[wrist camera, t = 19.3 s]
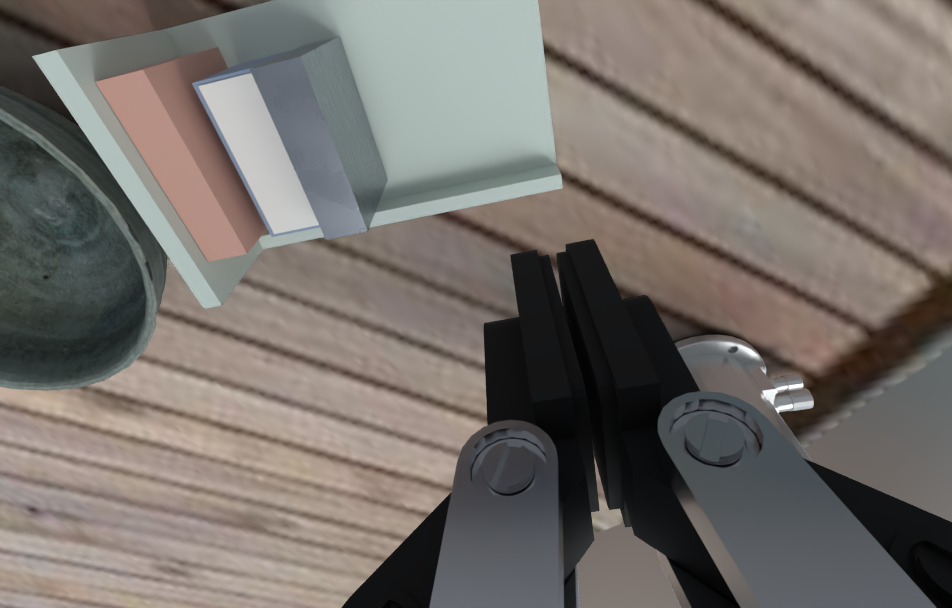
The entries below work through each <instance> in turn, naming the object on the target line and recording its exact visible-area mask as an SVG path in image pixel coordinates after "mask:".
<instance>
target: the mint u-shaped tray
mask: <svg viewBox="0 0 952 608" xmlns="http://www.w3.org/2000/svg"><path fill="white" fill-rule="evenodd" d="M336 37H340V38H341V41H342V44H343V47H344V50H345V53H346V56H347V59H348V62H349V65H350V68H351V71H352V74H353V77H354V80H355V83H356V86H357V89H358V92H359V95H360V98H361V101H362V104H363V107H364V110H365V113H366V116H367V119H368V122H369V125H370V128H371V131H372V134H373V137H374V140H375V143H376V146H377V149H378V152H379V155H380V158H381V161H382V164H383V167H384V170H385V173H386V176H387V179H388V181H387V183H386V186H385V188H384V191H383V194H382V196H381V199H380V201H379V204H378V206H377V209H376V212H375V214H374V217H373V219H372V222H371V224H370V227H375V226H380V225H385V224H390V223H395V222H400V221H405V220H409V219H414V218H419V217H424V216H429V215H434V214H439V213H444V212H449V211H454V210H459V209H464V208H468V207H473V206H478V205H483V204H488V203H493V202H498V201H503V200H508V199H513V198H518V197H523V196H527V195H532V194H537V193H542V192H547V191H552V190H557V189H562V188H563V187H562V178H561V173H560V171H559V168H558V166H557V164H556V155H555V146H554V137H553V129H552V120H551V111H550V102H549V93H548V85H547V76H546V67H545V58H544V49H543V40H542V32H541V23H540V14H539V5H538V0H272V1H268V2H265V3H261V4H257V5H253V6H250V7H246V8H242V9H238V10H235V11H231V12H227V13H223V14H220V15H216V16H212V17H208V18H205V19H201V20H197V21H193V22H190V23H186V24H182V25H178V26H175V27H171V28H167V29H163V30H157V31H152V32H147V33H142V34H136V35H131V36H126V37H121V38H116V39H110V40H105V41H100V42H95V43H90V44H84V45H79V46H74V47H69V48H64V49H58V50H54V51H50V52H47V53H43V54H39V55H35V56H32V57H33V59H34V60H35V61H36V63H37V64H38V66H39V67H40V69H41V70H42V72H43V73H44V75H45V76H46V78H47V79H48V81H49V82H50V84H51V85H52V86H53V88H54V89H55V91H56V92H57V94H58V95H59V97H60V98H61V100H62V101H63V103H64V104H65V106H66V107H67V108H68V110H69V111H70V113H71V114H72V116H73V117H74V119H75V120H76V122H77V123H78V125H79V126H80V128H81V129H82V131H83V132H84V133H85V135H86V136H87V138H88V139H89V141H90V142H91V144H92V145H93V147H94V148H95V150H96V151H97V153H98V154H99V155H100V157H101V158H102V160H103V161H104V163H105V164H106V166H107V167H108V169H109V170H110V172H111V173H112V175H113V176H114V178H115V179H116V180H117V182H118V183H119V185H120V186H121V188H122V189H123V191H124V192H125V194H126V195H127V197H128V198H129V200H130V201H131V202H132V204H133V205H134V207H135V208H136V210H137V211H138V213H139V214H140V216H141V217H142V219H143V220H144V222H145V223H146V225H147V226H148V227H149V229H150V230H151V232H152V233H153V235H154V236H155V238H156V239H157V241H158V242H159V244H160V245H161V247H162V248H163V249H164V251H165V252H166V254H167V255H168V257H169V258H170V260H171V261H172V263H173V264H174V266H175V267H176V269H177V270H178V272H179V273H180V274H181V276H182V277H183V279H184V280H185V282H186V283H187V285H188V286H189V288H190V289H191V291H192V292H193V294H194V295H195V296H196V298H197V299H198V301H199V302H200V304H201V305H202V307H203V308H204V309H205V308H210V307H215V306H221V305H222V304H223V303H224V302H225V300H226V299H227V298H228V296H229V295H230V294H231V292H232V291H233V290H234V288H235V287H236V286H237V284H238V283H239V281H240V280H241V279H242V277H243V276H244V275H245V273H246V272H247V271H248V269H249V268H250V267H251V265H252V264H253V262H254V261H255V260H256V258H257V257H258V256H259V254H260V253H261V252H262V250H263V249H267V248H272V247H277V246H282V245H287V244H291V243H296V242H301V241H306V240H311V239H316V238H321V237H324V235H323V232H322V230H321V228H320V227H319V228H314V229H309V230H305V231H300V232H295V233H290V234H285V235H280V236H275V237H271V235H270V233H269V231H268V229H267V227H266V225H265V223H264V221H263V220H262V218H261V216H260V214H259V212H258V210H257V208H256V206H255V204H254V202H253V200H252V198H251V196H250V195H249V193H248V191H247V189H246V187H245V185H244V183H243V181H242V179H241V177H240V175H239V173H238V171H237V169H236V168H235V166H234V164H233V162H232V160H231V158H230V156H229V154H228V152H227V150H226V148H225V146H224V144H223V143H222V141H221V139H220V137H219V135H218V133H217V131H216V129H215V127H214V125H213V123H212V121H211V119H210V118H209V116H208V114H207V112H206V110H205V108H204V106H203V104H202V102H201V100H200V98H199V96H198V94H197V92H196V91H195V89H194V87H193V85H192V83H193V82H195V81H198V80H200V79H203V78H205V77H208V76H210V75H213V74H215V73H218V72H220V71H223V70H225V69H227V68H230V67H232V66H235V65H237V64H241V63H245V62H249V61H252V60H256V59H260V58H264V57H268V56H272V55H276V54H280V53H284V52H288V51H291V50H294V49H296V48H298V47H300V46H304V45H308V44H312V43H316V42H320V41H324V40H328V39H332V38H336ZM370 227H369V228H370Z"/></svg>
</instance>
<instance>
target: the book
mask: <svg viewBox="0 0 952 608" xmlns="http://www.w3.org/2000/svg"><path fill="white" fill-rule="evenodd" d="M288 52H289V51H288ZM285 53H287V52H284V53H280V54H276V55H272V56H268V57H264V58H260V59H256V60H252V61H249V62H245V63H241V64H237V65H235V66H232V67H230V68H227V69H225V70H223V71H220V72H218V73H215V74H213V75H210V76H208V77H205V78H203V79H200V80H198V81H195V82H193V83H192V85H193V87H194V89H195V91H196V92H197V94H198V96H199V98H200V100H201V102H202V104H203V106H204V108H205V110H206V112H207V114H208V116H209V118H210V119H211V121H212V123H213V125H214V127H215V129H216V131H217V133H218V135H219V137H220V139H221V141H222V143H223V144H224V146H225V148H226V150H227V152H228V154H229V156H230V158H231V160H232V162H233V164H234V166H235V168H236V169H237V171H238V173H239V175H240V177H241V179H242V181H243V183H244V185H245V187H246V189H247V191H248V193H249V195H250V196H251V198H252V200H253V202H254V204H255V206H256V208H257V210H258V212H259V214H260V216H261V218H262V220H263V221H264V223H265V225H266V227H267V229H268V231H269V233H270V235H271V237H275V236H280V235H285V234H290V233H295V232H300V231H305V230H309V229H314V228H319V227H320V226H319V223H318V221H317V219H316V217H315V214H314V212H313V210H312V208H311V205H310V203H309V201H308V199H307V196H306V194H305V192H304V190H303V187H302V185H301V183H300V181H299V179H298V176H297V174H296V172H295V170H294V167H293V165H292V163H291V161H290V158H289V156H288V154H287V152H286V149H285V147H284V145H283V143H282V140H281V138H280V136H279V134H278V131H277V129H276V127H275V125H274V122H273V120H272V118H271V116H270V114H269V111H268V109H267V107H266V105H265V102H264V100H263V98H262V96H261V93H260V91H259V89H258V87H257V84H256V82H255V80H254V78H253V75H252V73H251V71H250V69H251V68H254V67H256V66H258V65H260V64H263V63H265V62H267V61H269V60H271V59H274V58H276V57H278V56H280V55H283V54H285Z"/></svg>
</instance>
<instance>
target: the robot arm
mask: <svg viewBox="0 0 952 608" xmlns="http://www.w3.org/2000/svg"><path fill="white" fill-rule="evenodd" d="M510 256H511V263H512V270H513V277H514V284H515V291H516V298H517V305H518V312H519V317H517V318H511V319H505V320H499V321H494V322H488V323H484V348H485V373H486V397H487V422H488V426H485V427H483V428H481V429H480V430H479V431H477V432H476V433H475V434H474V435H472V436H471V437H470V438H469V440H468V441H467V442H466V444H465V445H464V446H463V447H462V450H461V452H460V455H459V458H458V461H457V466H456V471H455V476H454V481H453V487H452V492H451V493H450V494H449V495H448V496H447V497H446V498H445V499H444V500H443V501H442V502H441V503H440V504H439V506H438V507H437V508H436V509H435V510H434V511H433V512H432V513H431V514H430V515H429V516H428V517H427V518H426V519H425V520H424V521H423V522H422V523H421V524H420V525H419V526H418V527H417V528H416V529H415V530H414V531H413V532H412V533H411V535H410V536H409V537H408V538H407V539H406V540H405V541H404V542H403V543H402V544H401V545H400V546H399V547H398V548H397V549H396V550H395V551H394V552H393V553H392V554H391V555H390V556H389V557H388V558H387V559H386V560H385V561H384V562H383V563H382V565H381V566H380V567H379V568H378V569H377V570H376V571H375V572H374V573H373V574H372V575H371V576H370V577H369V578H368V579H367V580H366V581H365V582H364V583H363V584H362V585H361V586H360V587H359V588H358V589H357V590H356V591H355V592H354V594H353V595H352V596H351V597H350V598H349V599H348V600H347V601H346V603H345V604H344V605H343V607H342V608H579V591H578V569H577V563H578V562H579V561H580V559H581V558H582V556H583V555H584V554H585V552H586V550H587V549H588V548H589V547H590V545H591V544H592V542H593V541H594V534H593V526H592V518H591V512H595V511H599V501H598V492H597V483H596V473H595V464H594V455H595V459H596V463H597V467H598V471H599V475H600V478H601V482H602V486H603V490H604V494H605V498H606V502H607V505H608V508H609V510H611V509H619V508H620V510H621V513H622V517H623V521H624V524H625V527H632V528H633V532H634V535H635V536H637V537H638V538H640V539H641V540H643V541H644V542H646V543H647V544H649V545H650V546H652V547H653V548H655V549H656V552H657V555H658V559H659V562H660V564H661V566H662V568H663V570H664V572H665V574H666V576H667V579H668V581H669V582H670V585H671V587H672V589H673V591H674V593H675V595H676V597H677V599H678V601H679V604H680V606H681V608H952V522H950V521H948V520H945V519H943V518H941V517H938V516H936V515H934V514H931V513H929V512H927V511H924V510H922V509H920V508H917V507H915V506H913V505H911V504H908V503H906V502H904V501H901V500H899V499H897V498H894V497H892V496H890V495H887V494H885V493H883V492H881V491H878V490H876V489H874V488H871V487H869V486H867V485H864V484H862V483H860V482H857V481H855V480H853V479H850V478H848V477H846V476H843V475H841V474H839V473H836V472H834V471H832V470H830V469H827V468H825V467H823V466H820V465H818V464H816V463H813V462H812V460H811V459H810V458H809V456H808V455H807V453H806V452H805V450H804V449H803V447H802V446H801V445H800V443H799V442H798V440H797V439H796V437H795V436H794V435H793V433H792V432H791V430H790V429H789V427H788V426H787V425H786V423H785V422H784V420H783V419H782V417H781V416H780V415H779V412H782V411H796V410H803V409H810V408H812V407H813V405H814V404H813V398H812V395H811V393H810V392H809V390H807V389H806V388H802V387H803V381H802V378H801V377H800V375H798V374H792V375H786V376H781V377H777V378H772V377H771V376H767V371H766V366H765V363H764V360H763V359H762V358H761V356H760V355H759V353H758V352H757V351H756V350H755V349H754V348H753V347H752V346H751V345H750V344H748V343H747V342H745V341H743V340H741V339H738V338H735V337H732V336H726V335H702V336H696V337H691V338H688V339H684V340H681V341H678V342H676V343H674V342H673V340H672V338H671V336H670V334H669V333H668V331H667V329H666V327H665V325H664V324H663V322H662V320H661V318H660V316H659V315H658V313H657V311H656V309H655V307H654V305H653V304H652V302H651V300H650V299H649V297H648V296H646V295H642V296H637V297H631V298H625V299H622V298H621V296H620V294H619V292H618V290H617V288H616V286H615V283H614V281H613V279H612V277H611V275H610V273H609V270H608V268H607V266H606V264H605V262H604V260H603V258H602V255H601V253H600V251H599V249H598V247H597V245H596V243H595V241H594V239H591V240H586V241H580V242H575V243H570V244H566V252H561V253H557V264H558V272H559V280H560V287H561V295H562V302H561V298H560V294H559V291H558V287H557V284H556V280H555V277H554V273H553V269H552V266H551V262H550V259H549V255H545V256H539V257H538V253H537V250H533V251H528V252H523V253H517V254H512V255H510ZM562 303H563V305H562ZM784 390H785V391H784ZM777 391H783V392H780V393H777ZM593 451H594V454H593Z"/></svg>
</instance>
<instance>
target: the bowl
mask: <svg viewBox="0 0 952 608" xmlns="http://www.w3.org/2000/svg"><path fill="white" fill-rule="evenodd" d="M166 270H167V254H166V252H165V251H164V249H163V248H162V247H161V245H160V244H159V242H158V241H157V239H156V238H155V236H154V235H153V233H152V232H151V230H150V229H149V227H148V226H147V225H146V223H145V222H144V220H143V219H142V217H141V216H140V214H139V213H138V211H137V210H136V208H135V207H134V205H133V204H132V202H131V201H130V200H129V198H128V197H127V195H126V194H125V192H124V191H123V189H122V188H121V186H120V185H119V183H118V182H117V180H116V179H115V178H114V176H113V175H112V173H111V172H110V170H109V169H108V167H107V166H106V164H105V163H104V161H103V160H102V158H101V157H100V155H99V154H98V153H97V151H96V150H95V148H94V147H93V145H92V144H91V142H90V141H89V139H88V138H87V136H86V135H85V133H84V132H83V131H82V129H81V128H80V127H78V126H77V125H75V124H74V123H73V122H71V121H70V120H68V119H67V118H66V117H64V116H62V115H60V114H59V113H57V112H55V111H53V110H52V109H50V108H48V107H46V106H44V105H42V104H40V103H38V102H36V101H34V100H32V99H30V98H28V97H26V96H24V95H22V94H19V93H17V92H15V91H13V90H11V89H9V88H7V87H3V86H0V387H5V388H11V389H26V390H46V391H48V390H60V389H72V388H80V387H83V386H87V385H90V384H94V383H97V382H100V381H104V380H106V379H107V378H109V377H111V376H113V375H115V374H117V373H118V372H120V371H122V370H124V369H126V368H127V367H129V366H130V365H131V364H132V363H133V362H134V361H135V360H136V359H137V358H138V357H139V356H140V355H141V354H142V353H143V352H144V351H145V349H146V347H147V345H148V343H149V341H150V338H151V336H152V334H153V332H154V329H155V325H156V314H157V312H158V309H159V307H160V304H161V300H162V294H163V290H164V287H165V280H166Z"/></svg>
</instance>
